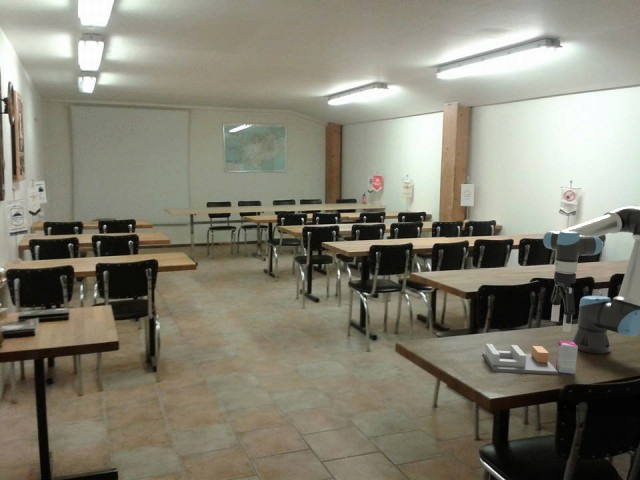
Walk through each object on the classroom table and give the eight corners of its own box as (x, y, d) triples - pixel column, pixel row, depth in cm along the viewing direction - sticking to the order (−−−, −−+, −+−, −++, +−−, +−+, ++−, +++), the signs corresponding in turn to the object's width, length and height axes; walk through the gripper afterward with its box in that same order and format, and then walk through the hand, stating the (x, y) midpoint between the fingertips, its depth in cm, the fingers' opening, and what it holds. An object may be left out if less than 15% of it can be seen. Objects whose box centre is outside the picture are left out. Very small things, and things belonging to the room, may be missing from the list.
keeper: (541, 355, 222) (542, 346, 222) (547, 362, 214) (548, 352, 214) (531, 355, 222) (532, 345, 222) (537, 362, 215) (538, 352, 214)
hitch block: (541, 357, 225) (542, 343, 224) (558, 374, 206) (559, 360, 205) (482, 354, 226) (483, 341, 226) (493, 371, 208) (494, 356, 207)
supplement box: (575, 375, 206) (578, 346, 204) (558, 373, 207) (561, 344, 205) (571, 369, 211) (574, 341, 210) (555, 368, 213) (558, 340, 211)
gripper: (545, 265, 219) (540, 316, 221) (566, 278, 194) (561, 335, 197) (564, 266, 218) (559, 317, 221) (588, 279, 193) (582, 336, 196)
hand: (560, 326), depth 209 cm, fingers open, 13 cm apart
